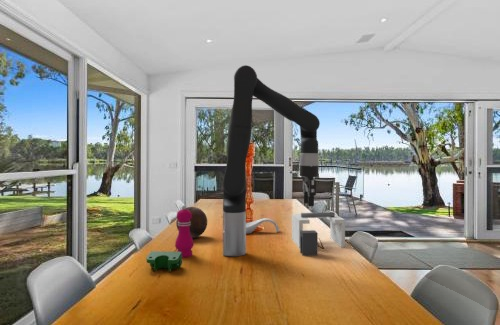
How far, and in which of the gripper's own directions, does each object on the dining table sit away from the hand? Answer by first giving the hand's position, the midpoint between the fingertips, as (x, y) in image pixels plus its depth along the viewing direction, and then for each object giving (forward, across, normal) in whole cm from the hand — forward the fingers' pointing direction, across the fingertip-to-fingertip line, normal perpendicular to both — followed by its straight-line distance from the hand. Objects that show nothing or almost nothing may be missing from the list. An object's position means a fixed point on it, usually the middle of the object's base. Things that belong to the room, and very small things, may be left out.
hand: (308, 204), depth 157 cm
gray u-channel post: (+20, 0, 0) cm, 20 cm away
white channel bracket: (+20, -18, +8) cm, 28 cm away
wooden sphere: (+21, -35, -50) cm, 64 cm away
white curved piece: (+21, -47, -17) cm, 54 cm away
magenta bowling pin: (+21, -1, -50) cm, 54 cm away
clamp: (+21, +18, -55) cm, 61 cm away
